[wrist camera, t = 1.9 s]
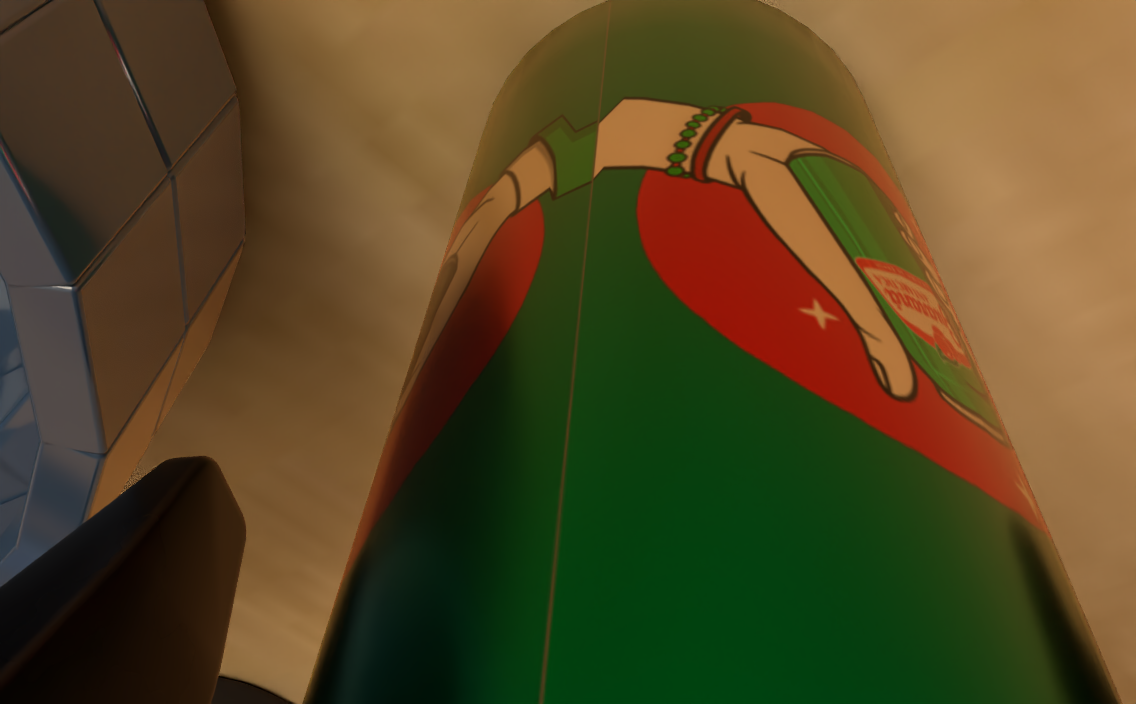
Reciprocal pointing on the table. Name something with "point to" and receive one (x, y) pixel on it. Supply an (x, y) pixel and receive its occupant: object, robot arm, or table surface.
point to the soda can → (696, 411)
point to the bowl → (105, 244)
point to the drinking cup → (241, 694)
